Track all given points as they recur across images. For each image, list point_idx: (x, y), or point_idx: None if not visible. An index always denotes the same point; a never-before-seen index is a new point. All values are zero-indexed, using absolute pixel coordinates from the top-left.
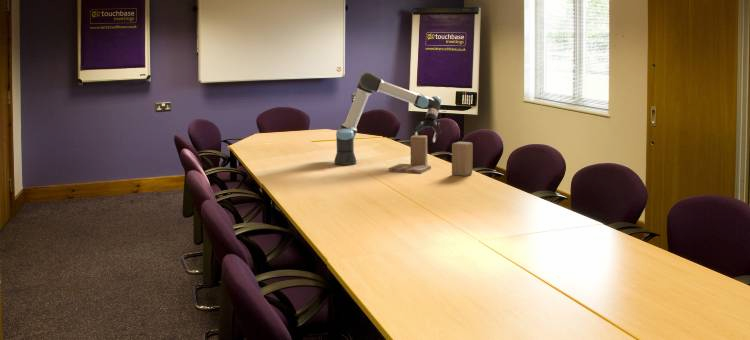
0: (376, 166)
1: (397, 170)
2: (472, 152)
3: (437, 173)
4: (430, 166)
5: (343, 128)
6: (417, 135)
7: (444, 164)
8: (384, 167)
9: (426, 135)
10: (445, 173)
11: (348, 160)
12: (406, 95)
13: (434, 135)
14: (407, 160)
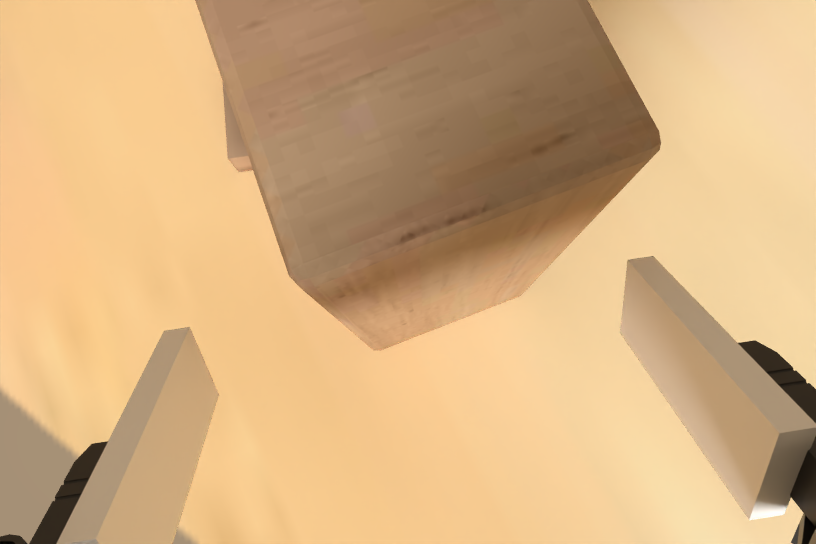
0: (770, 27)
1: None
2: None
3: (94, 9)
4: (229, 150)
5: None
6: (525, 149)
7: (208, 473)
8: (669, 21)
9: (306, 260)
10: (29, 40)
11: None
12: None
13: (128, 432)
14: (741, 514)
